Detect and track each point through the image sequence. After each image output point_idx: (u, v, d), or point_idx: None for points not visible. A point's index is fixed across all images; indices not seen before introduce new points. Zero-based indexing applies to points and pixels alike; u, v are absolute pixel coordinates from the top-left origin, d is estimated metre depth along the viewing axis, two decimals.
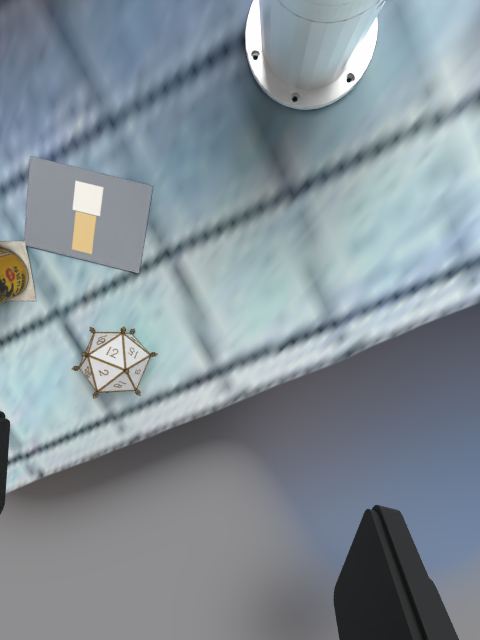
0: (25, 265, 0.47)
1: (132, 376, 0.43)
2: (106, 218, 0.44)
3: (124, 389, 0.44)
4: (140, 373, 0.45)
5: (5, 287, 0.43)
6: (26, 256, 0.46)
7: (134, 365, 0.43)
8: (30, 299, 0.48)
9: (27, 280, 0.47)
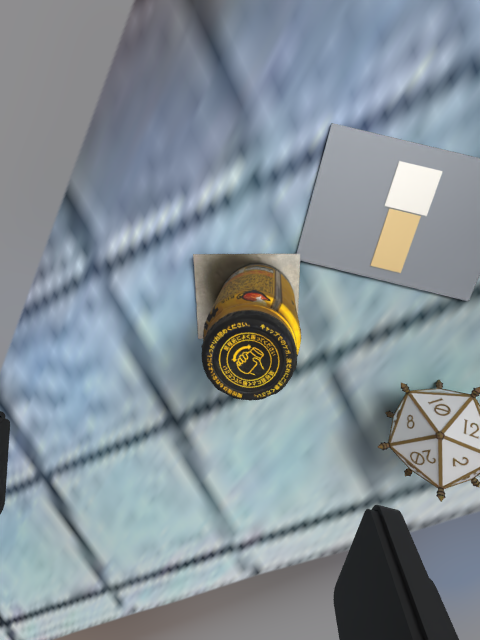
0: (292, 289, 0.31)
1: None
2: (435, 219, 0.29)
3: (465, 480, 0.29)
4: None
5: None
6: (297, 275, 0.31)
7: None
8: None
9: None
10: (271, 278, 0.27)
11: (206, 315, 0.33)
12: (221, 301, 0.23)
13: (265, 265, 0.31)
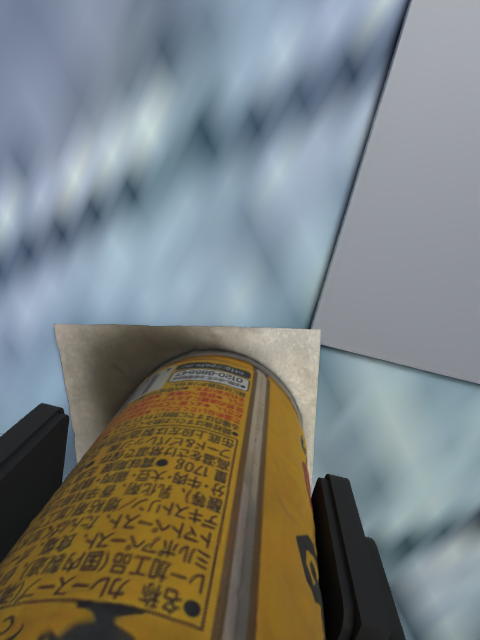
0: (299, 413, 0.13)
1: None
2: None
3: None
4: None
5: None
6: (313, 382, 0.12)
7: None
8: None
9: None
10: (233, 433, 0.08)
11: None
12: None
13: (232, 355, 0.12)
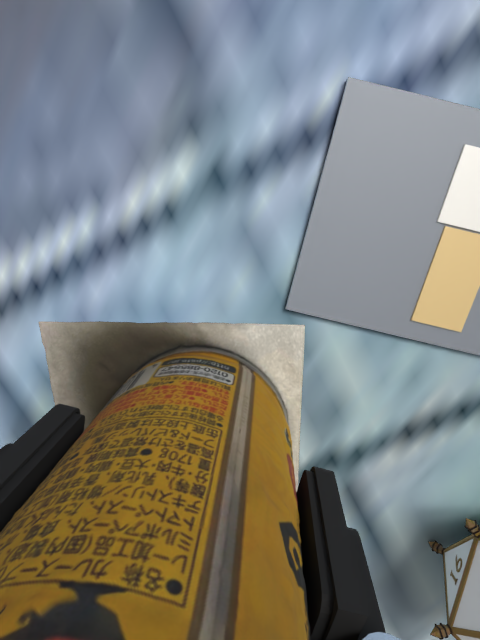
0: (284, 408, 0.13)
1: None
2: None
3: None
4: None
5: None
6: (298, 377, 0.12)
7: None
8: None
9: None
10: (218, 424, 0.08)
11: None
12: None
13: (218, 351, 0.12)
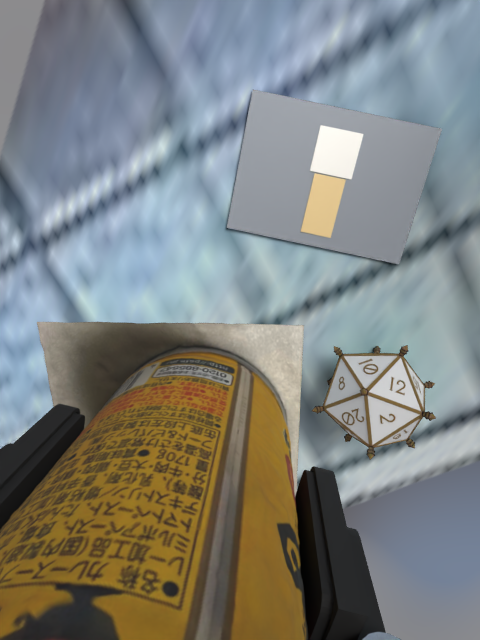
0: (283, 408, 0.13)
1: None
2: (360, 182, 0.29)
3: (398, 439, 0.29)
4: None
5: None
6: (297, 378, 0.12)
7: None
8: None
9: None
10: (216, 424, 0.08)
11: None
12: None
13: (216, 352, 0.12)
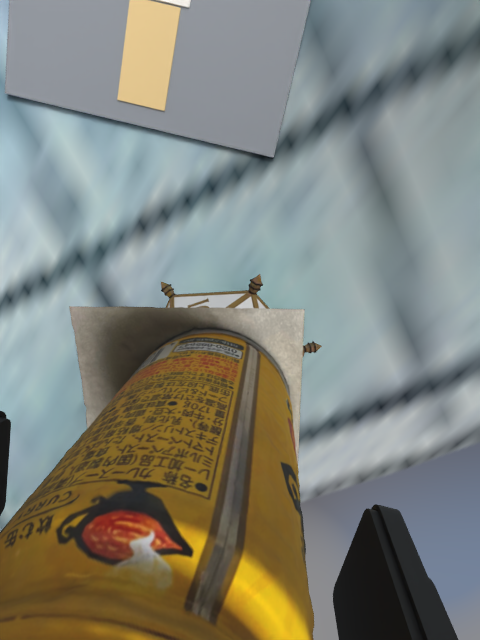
0: (286, 384, 0.14)
1: None
2: (205, 13, 0.18)
3: None
4: None
5: None
6: (299, 356, 0.14)
7: None
8: None
9: None
10: (229, 386, 0.10)
11: None
12: (10, 531, 0.06)
13: (227, 333, 0.14)
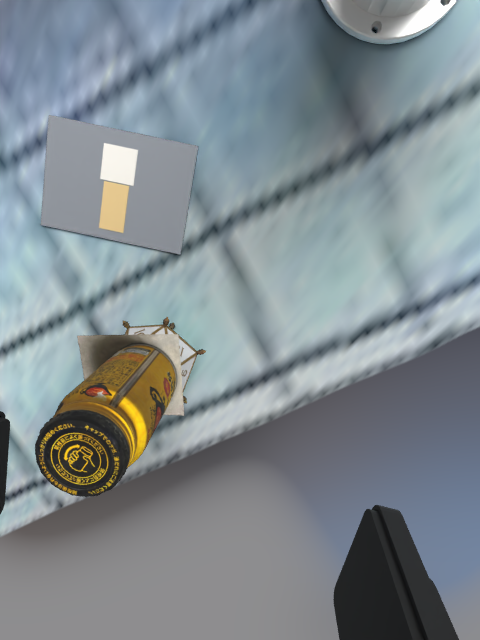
0: (174, 367, 0.32)
1: None
2: (141, 188, 0.37)
3: None
4: (186, 375, 0.36)
5: (164, 408, 0.29)
6: (178, 354, 0.32)
7: (181, 364, 0.35)
8: (175, 413, 0.34)
9: (175, 386, 0.33)
10: (137, 363, 0.28)
11: None
12: (67, 395, 0.24)
13: (146, 345, 0.32)
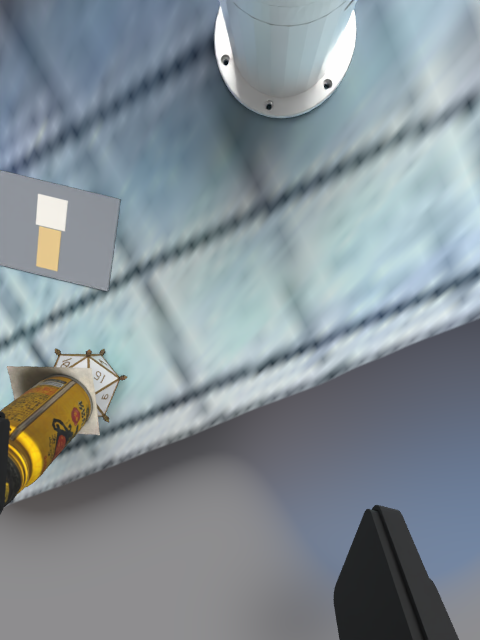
0: (89, 395, 0.38)
1: (98, 402, 0.41)
2: (71, 233, 0.42)
3: None
4: (108, 398, 0.42)
5: (70, 434, 0.34)
6: (92, 385, 0.38)
7: (100, 390, 0.40)
8: (92, 433, 0.39)
9: (91, 411, 0.38)
10: (47, 397, 0.34)
11: None
12: None
13: (65, 376, 0.38)
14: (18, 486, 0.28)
